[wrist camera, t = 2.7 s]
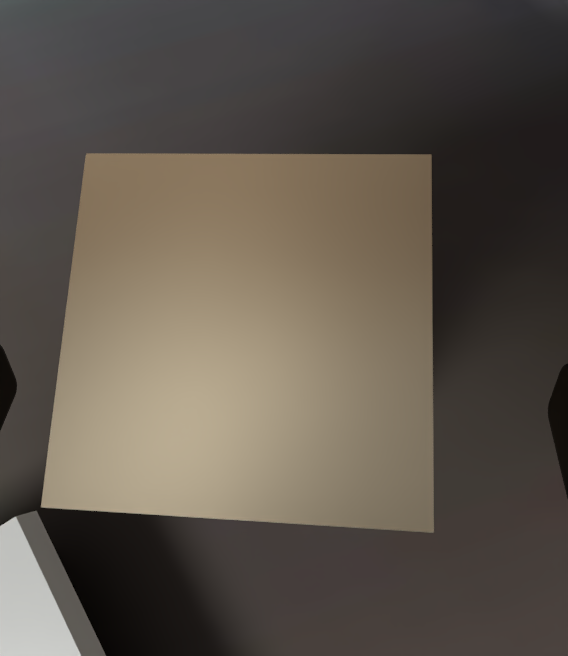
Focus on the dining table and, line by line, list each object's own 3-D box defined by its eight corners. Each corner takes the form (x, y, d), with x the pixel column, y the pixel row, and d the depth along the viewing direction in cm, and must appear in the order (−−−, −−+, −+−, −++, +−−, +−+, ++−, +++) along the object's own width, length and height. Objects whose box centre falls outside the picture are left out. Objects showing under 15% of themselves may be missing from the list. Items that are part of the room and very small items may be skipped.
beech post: (360, 461, 16) (434, 532, 5) (230, 455, 16) (40, 508, 5) (363, 332, 17) (431, 154, 6) (238, 328, 17) (85, 153, 6)
